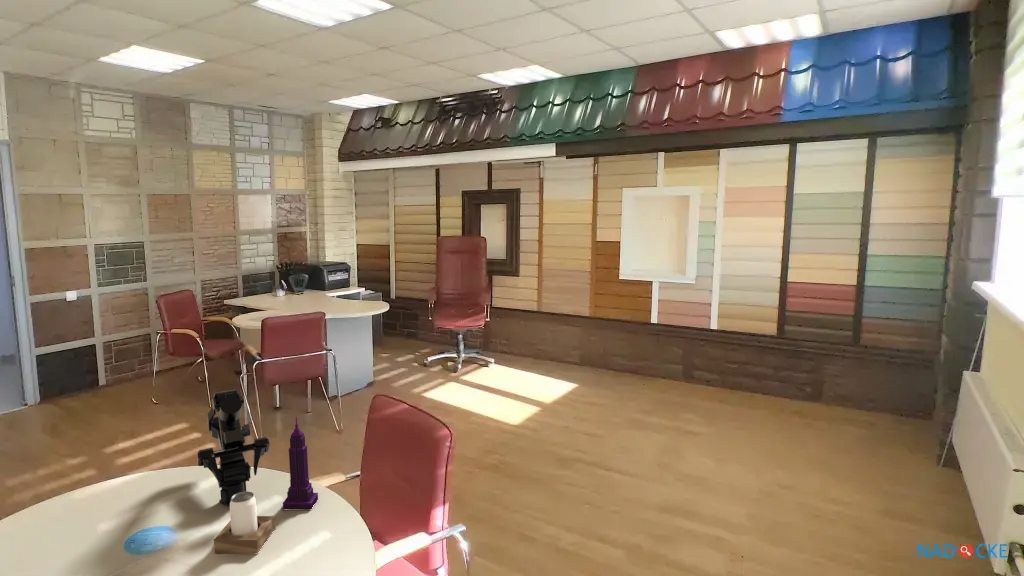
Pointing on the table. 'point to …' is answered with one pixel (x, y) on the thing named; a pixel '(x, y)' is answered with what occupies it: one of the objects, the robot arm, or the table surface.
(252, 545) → the socket block
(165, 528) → the table surface
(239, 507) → the can
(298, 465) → the building model
